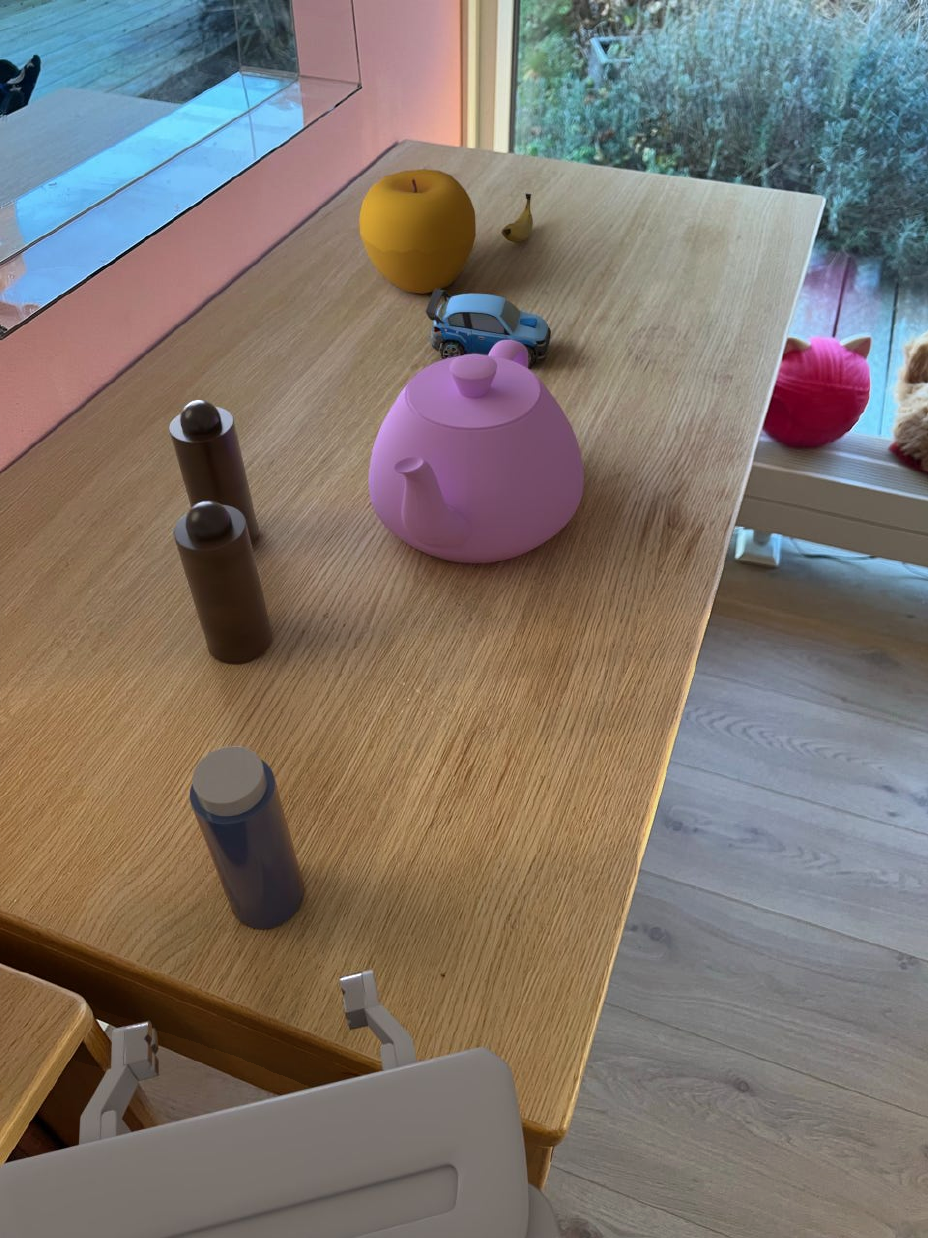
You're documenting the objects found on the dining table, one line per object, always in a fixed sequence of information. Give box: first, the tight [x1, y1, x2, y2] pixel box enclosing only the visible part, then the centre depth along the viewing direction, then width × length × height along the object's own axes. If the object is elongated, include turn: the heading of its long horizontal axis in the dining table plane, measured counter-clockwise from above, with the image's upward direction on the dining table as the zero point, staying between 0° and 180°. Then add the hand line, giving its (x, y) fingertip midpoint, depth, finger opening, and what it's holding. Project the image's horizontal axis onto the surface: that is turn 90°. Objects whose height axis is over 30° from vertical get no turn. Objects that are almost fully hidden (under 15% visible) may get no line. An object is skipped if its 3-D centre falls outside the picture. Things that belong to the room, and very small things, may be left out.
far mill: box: [168, 399, 260, 545], centre depth 79 cm, size 5×5×13 cm
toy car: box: [425, 288, 552, 368], centre depth 100 cm, size 6×12×6 cm, turn 80°
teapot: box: [368, 340, 585, 564], centre depth 79 cm, size 25×18×14 cm
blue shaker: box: [189, 745, 306, 930], centre depth 55 cm, size 4×4×12 cm
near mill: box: [173, 501, 274, 665], centre depth 70 cm, size 5×5×13 cm
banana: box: [501, 192, 534, 244], centre depth 118 cm, size 10×2×4 cm, turn 163°
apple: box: [358, 169, 477, 295], centre depth 110 cm, size 13×13×11 cm
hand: (248, 1003), depth 43 cm, fingers open, 8 cm apart
